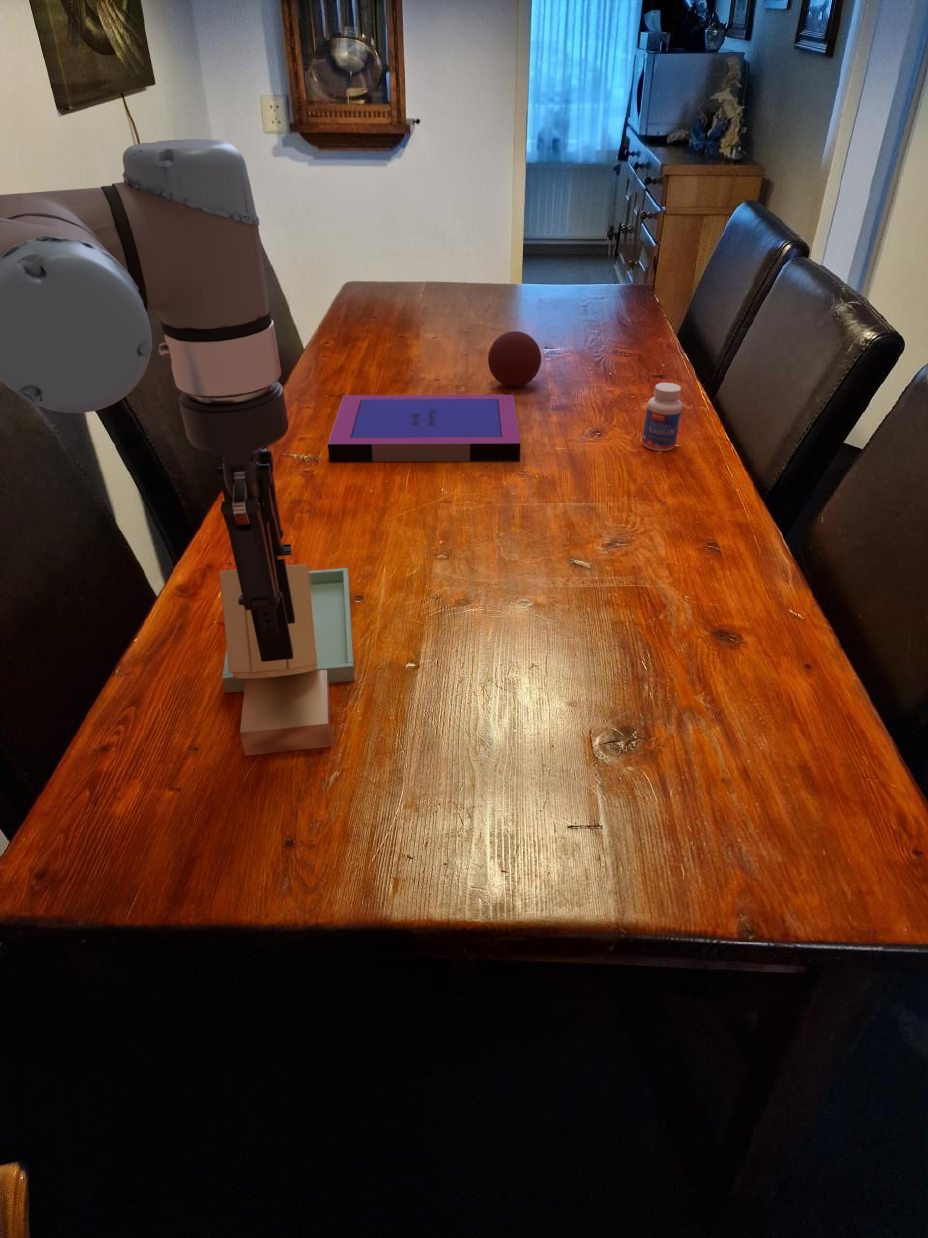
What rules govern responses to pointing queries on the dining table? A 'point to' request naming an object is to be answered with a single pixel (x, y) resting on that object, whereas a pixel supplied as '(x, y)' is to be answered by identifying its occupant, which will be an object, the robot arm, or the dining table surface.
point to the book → (425, 429)
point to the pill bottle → (662, 418)
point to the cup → (243, 635)
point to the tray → (323, 629)
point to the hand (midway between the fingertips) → (278, 639)
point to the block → (286, 713)
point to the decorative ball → (514, 359)
